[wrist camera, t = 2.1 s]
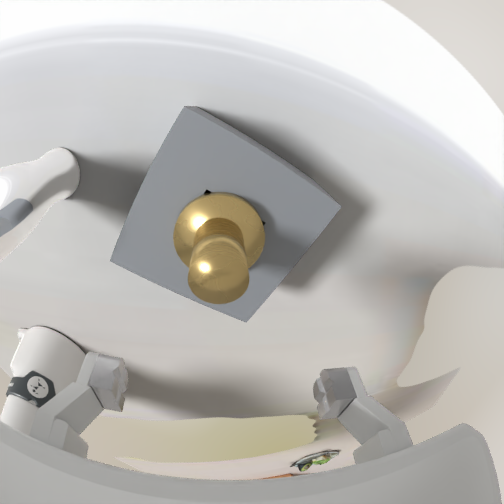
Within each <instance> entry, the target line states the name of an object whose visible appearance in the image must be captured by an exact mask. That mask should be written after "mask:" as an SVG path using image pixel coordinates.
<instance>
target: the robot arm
mask: <svg viewBox="0 0 504 504" xmlns="http://www.w3.org/2000/svg"><path fill="white" fill-rule="evenodd" d="M17 334H18V337H19V340H20V343H19V345H18V348H17V350H16V352H15V354H14V357H13V359H12V362H11V369H12V372H13V375H14V377H13V378H12V380H11V382H10V384H9V386H8V390H7V393H6V395H7V399H6V402H5V405H4V407H3V411H2V413H1V416H0V504H502V503H501V494H500V489H499V484H498V479H497V474H496V470H495V467H494V464H493V460H492V456H491V454H490V450H489V448H488V445H487V443H486V440H485V438H484V437H483V435H482V434H481V433H480V432H478V431H477V430H475V429H474V428H473V427H471V426H469V425H467V424H464V423H463V424H459V425H458V426H456V427H454V428H452V429H450V430H448V431H445V432H443V433H441V434H439V435H437V436H435V437H433V438H430V439H428V440H426V441H423V442H421V443H419V444H416V445H414V446H413V443H412V440H411V438H410V435H409V432H408V430H407V427H406V425H405V423H404V422H403V421H402V420H400V419H399V418H398V417H396V416H395V415H394V414H393V413H391V412H390V411H389V410H388V409H386V408H385V407H384V406H383V405H381V404H380V403H379V402H378V401H377V400H375V399H374V398H373V397H372V396H368V395H367V392H366V390H365V387H364V385H363V382H362V380H361V377H360V375H359V372H358V370H357V368H356V367H346V368H344V367H343V368H332V369H324V370H322V371H321V373H320V376H321V377H320V378H318V379H317V380H316V381H315V383H314V388H313V393H314V398H315V400H317V401H318V402H319V404H318V406H317V410H318V413H319V417H320V420H322V419H331V418H337V419H338V420H339V421H340V422H341V423H342V424H343V426H344V427H345V428H346V429H347V430H348V431H349V432H350V433H351V434H352V435H353V436H354V437H355V438H356V439H357V440H358V441H359V443H360V444H361V446H360V447H358V448H357V449H356V450H355V451H354V452H353V455H354V459H355V463H356V464H355V465H351V466H347V467H343V468H338V469H334V470H329V471H324V472H318V473H312V474H306V475H299V476H291V477H282V478H271V479H255V480H206V479H191V478H180V477H171V476H163V475H157V474H150V473H144V472H139V471H134V470H129V469H124V468H120V467H116V466H112V465H108V464H104V463H100V462H97V461H93V460H90V459H87V458H86V457H87V451H88V444H87V443H86V442H85V441H84V440H83V439H82V438H81V437H80V436H79V435H80V434H81V433H82V432H83V431H84V430H85V428H87V426H88V425H89V424H90V423H91V422H92V421H93V420H94V419H95V418H96V417H97V416H98V415H99V414H100V413H101V412H102V411H103V410H104V409H109V410H114V411H119V412H122V410H123V405H124V401H125V398H124V396H123V393H124V392H125V391H126V390H127V387H128V372H127V369H126V368H125V367H124V365H125V362H124V359H123V358H118V357H113V356H108V355H103V354H99V353H95V352H90V351H89V352H88V353H87V354H86V355H85V353H84V352H83V351H82V350H81V349H80V348H79V347H78V346H77V345H76V344H75V343H73V342H72V341H71V340H69V339H68V338H66V337H65V336H63V335H62V334H60V333H58V332H56V331H54V330H51V329H49V328H46V327H40V326H36V327H32V328H30V329H22V328H20V329H19V330H18V333H17ZM103 408H104V409H103Z"/></svg>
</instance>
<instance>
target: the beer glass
mask: <svg viewBox="0 0 504 504" xmlns="http://www.w3.org/2000/svg"><path fill="white" fill-rule="evenodd" d="M79 180H80V168H79V164H78V162H77V160H76V158H75V156H74V155H73V154H72V153H71V152H70V151H69V150H67V149H65V148H53V149H51V150H49V151H48V152H46V153H45V154H44V155H43V156H41V157H40V158H38V159H36V160H33V161H28V162H22V163H16V164H11V165H8V166H4V167H1V168H0V262H1V261H2V260H4V259H5V258H6V257H7V256H8V255H10V254H11V253H12V252H13V251H14V250H15V249H16V248H17V247H18V246H19V245H21V243H22V242H23V241H24V240H25V239H26V238H27V237H28V236H29V235H30V234H31V233H32V231H33V230H34V229H35V228H36V226H37V225H38V224H39V222H40V221H41V220H42V218H43V217H44V215H45V214H46V213H47V211H48V210H49V209H50V208H51V206H52V205H53V204H55V203H56V202H58V201H61V200H63V199H66V198H68V197H69V196H71V195H72V194H73V193H74V192H75V190H76V189H77V187H78V184H79Z"/></svg>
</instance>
